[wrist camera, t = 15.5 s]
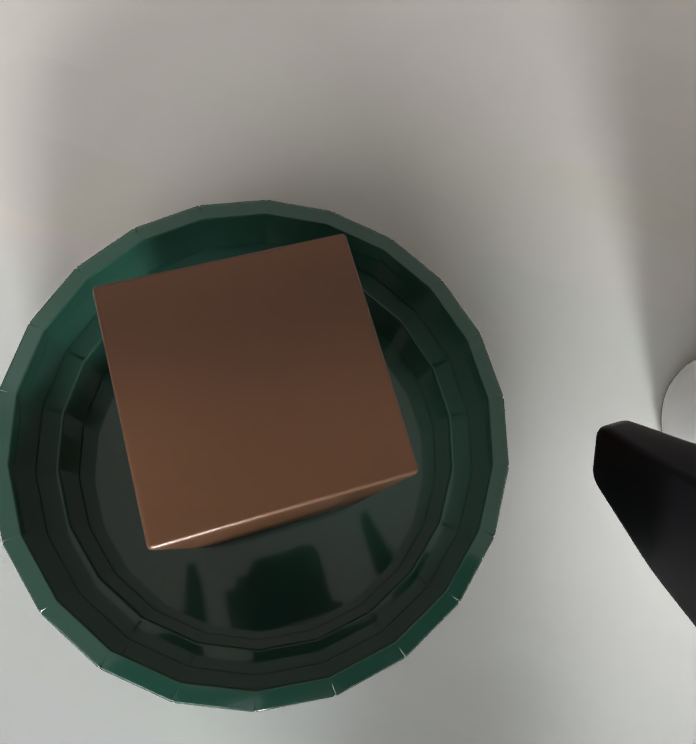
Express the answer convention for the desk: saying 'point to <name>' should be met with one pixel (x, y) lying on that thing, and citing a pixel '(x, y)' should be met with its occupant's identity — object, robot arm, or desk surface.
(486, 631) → the desk surface
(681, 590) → the robot arm
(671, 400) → the mug
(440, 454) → the green shallow bowl
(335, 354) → the walnut block
